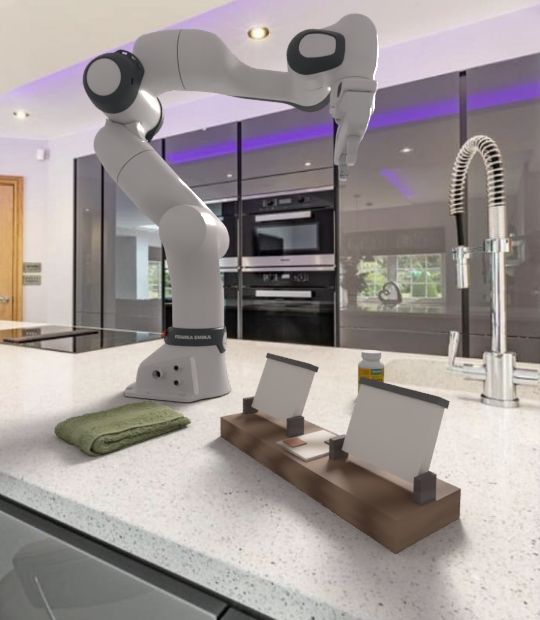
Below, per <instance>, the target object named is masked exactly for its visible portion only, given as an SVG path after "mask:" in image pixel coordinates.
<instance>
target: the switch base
mask: <svg viewBox="0 0 540 620" xmlns="http://www.w3.org/2000/svg"><path fill="white" fill-rule="evenodd" d="M254 397H255V395H254V396H249V397H243V398H242V412H238V413H234V414H228V415H223V416H220V418H219V419H220V420H219V421H220V427H219V428H220V429H219V431H220V437H221V438H222V439H224V440H226V441H228V443H231V444H232V445H233V446H235V447H236V448H238V449H239V450H240V451H242V452H244V453H245V454H246V455H248V456H249V457H251V458H252V459H254V460H256V462H258V463H260V464H261V465H263V466H264V467H265V468H267V469H269V470H270V471H271V472H273V473H274V474H277V476H279V477H281V478H282V479H284V480H285V481H287V482H288V483H289V484H290V485H293V486H294V487H295V488H297V489H298V490H300V491H301V492H303V493H305V494H306V495H307V496H309V497H311V498H312V499H314V501H317V502H318V503H319V504H321V505H323V506H324V507H325V508H327V509H328V510H330V511H332V512H333V513H334V514H336V515H337V516H339V517H340V518H342V519H343V520H345V521H346V522H347V523H349V524H351V525H352V526H353V527H354V528H356V529H358V530H360V531H361V533H364V534H366V535H367V536H369V537H370V538H371V539H373V540H374V541H376V542H378V543H379V544H380V545H381V546H383V547H385V548H387V549H388V550H389V551H391V552H392V553H394V554H397V553H400V552H401V551H403V550H405V549H407V548H408V547H410V546H412V545H413V544H415V543H418V542H419V541H420V540H421V541H422V539H424V538H427V537H428V536H430V535H431V534H433V533H435V532H436V531H439V530H440V529H442V528H444V527H445V526H447V525H449V524H451V523H452V522H454V521H456V520H458V519H460V518H461V499H462V498H461V497H462V496H461V495H462V493H461V492H462V488H461V487H458V486H456V485H453V484H451V483H449V482H446V481H444V480H442V479H440V478H438V477H437V473H435V472H433V471H431V470H429V471H428V472H425V473H423V474H421V475H418V476H416V477H414V484H412V483H410V482H408V481H405V480H403V479H401V478H399V477H397V476H395V475H393V474H391V473H389V472H387V471H385V470H382V469H380V468H378V467H376V466H374V465H372V464H370V463H368V462H366V461H364V460H362V459H360V458H357V457H355V456H353V455H351V454H349V453H347V452H345V451H343V450H342V447H343V443H344V440H345V436H346V434H345V433H343V434H338V433H335V432H333V431H331V430H328V429H326V428H323V427H321V426H319V425H317V424H315V423H312V422H310V421H308V420H306V419H305V416H304V415H302V416H301V415H300V416H296V417H291V418H287V424H286V423H284V422H282V421H280V420H278V419H276V418H274V417H272V416H270V415H268V414H266V413H264V412H261V411H259V410H257V409H255V408H253V407H251V406H252V403H253V400H254Z"/></svg>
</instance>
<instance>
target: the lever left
mask: <svg viewBox="0 0 540 620" xmlns="http://www.w3.org/2000/svg"><path fill="white" fill-rule="evenodd" d="M265 358H266V361H265V364H264V367H263V369H262V373H261V377H260V380H259V383H258V384H257V389H256V390H255V391H256V392H255V394H254V396H255V397H254V400H253V403H252V406H251V407H253V408H255V409H257V410H259V411H261V412H264V413H266V414H268V415H270V416H272V417H274V418H276V419H278V420H280V421H282V422H284V423H286V424H287V418H291V417H296V416H300V415H301V416H303V413H304V410H305V406H306V404H307V400H308V397H309V393H310V390H311V388H312V385H313V381H314V378H315V376H316V375H315V374H316V373H318V372H319V366H317V365H314V364H311V363H309V362H305V361H301V360H297V359H294V358H289V357H285V356H282V355H278V354H273V353H271V352H267V353H266V355H265Z"/></svg>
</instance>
